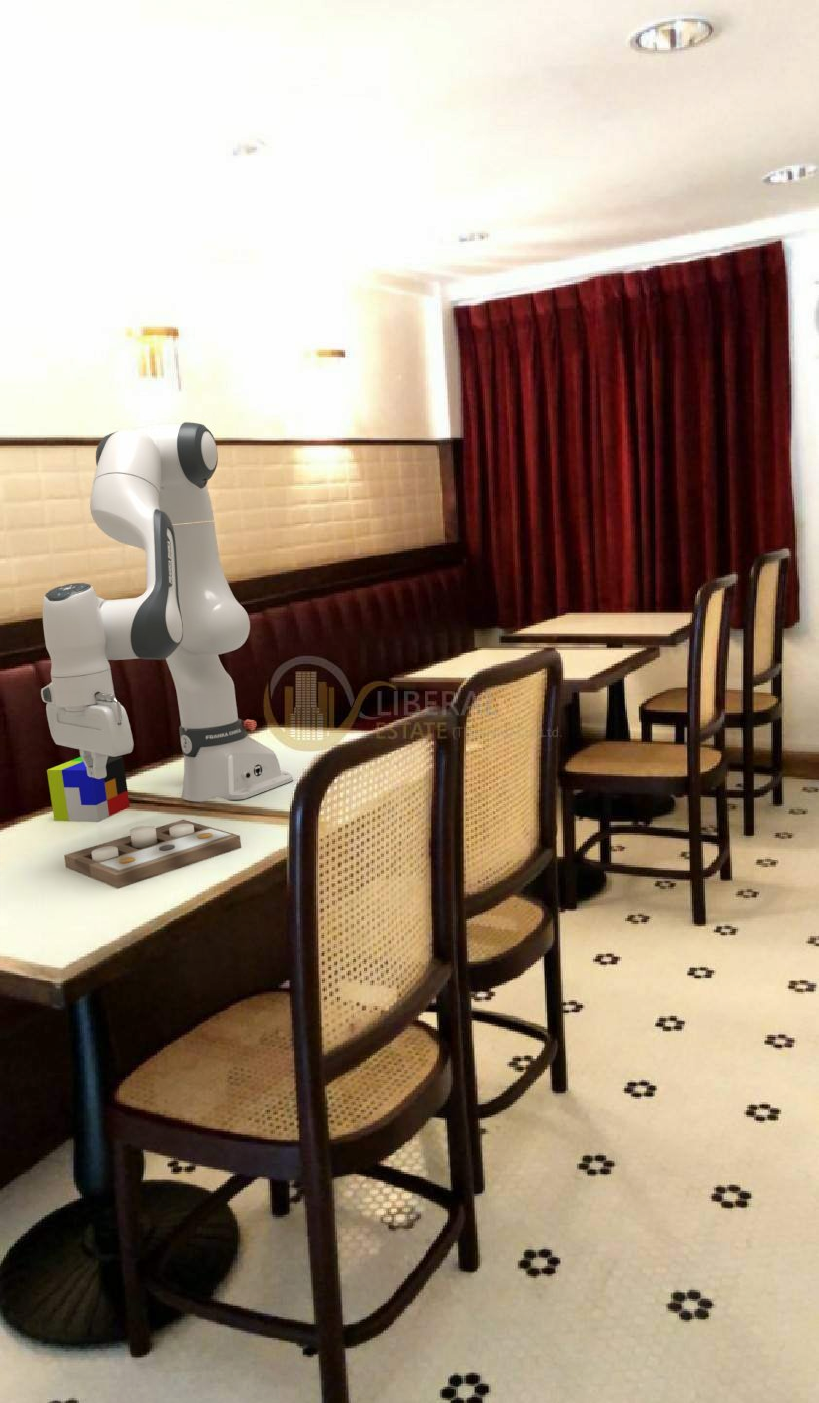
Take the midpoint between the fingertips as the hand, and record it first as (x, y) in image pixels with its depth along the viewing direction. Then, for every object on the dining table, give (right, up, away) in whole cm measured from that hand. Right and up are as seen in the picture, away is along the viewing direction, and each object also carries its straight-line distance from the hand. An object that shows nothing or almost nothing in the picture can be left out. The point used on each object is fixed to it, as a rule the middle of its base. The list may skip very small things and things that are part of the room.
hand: (97, 777), depth 170 cm
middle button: (+6, -11, +6) cm, 14 cm away
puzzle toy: (-12, -10, +38) cm, 41 cm away
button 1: (+1, -14, +1) cm, 14 cm away
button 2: (+11, -11, +11) cm, 19 cm away
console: (+8, -14, +4) cm, 17 cm away
